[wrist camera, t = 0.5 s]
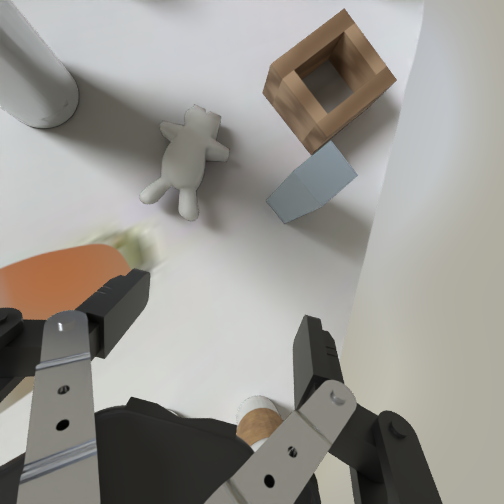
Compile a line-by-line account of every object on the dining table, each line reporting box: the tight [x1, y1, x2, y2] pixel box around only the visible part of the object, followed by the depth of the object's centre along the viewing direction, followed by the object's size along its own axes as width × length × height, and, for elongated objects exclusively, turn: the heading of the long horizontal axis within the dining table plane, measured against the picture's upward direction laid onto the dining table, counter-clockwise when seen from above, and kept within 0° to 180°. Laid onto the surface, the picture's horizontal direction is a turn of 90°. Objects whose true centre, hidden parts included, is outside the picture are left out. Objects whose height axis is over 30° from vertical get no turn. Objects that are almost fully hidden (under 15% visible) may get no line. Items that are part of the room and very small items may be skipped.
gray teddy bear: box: [140, 104, 229, 221], centre depth 36 cm, size 10×5×15 cm
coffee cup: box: [237, 396, 321, 504], centre depth 31 cm, size 8×8×15 cm
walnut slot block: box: [263, 8, 397, 154], centre depth 38 cm, size 12×13×6 cm
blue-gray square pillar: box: [266, 141, 358, 224], centre depth 33 cm, size 4×5×14 cm
